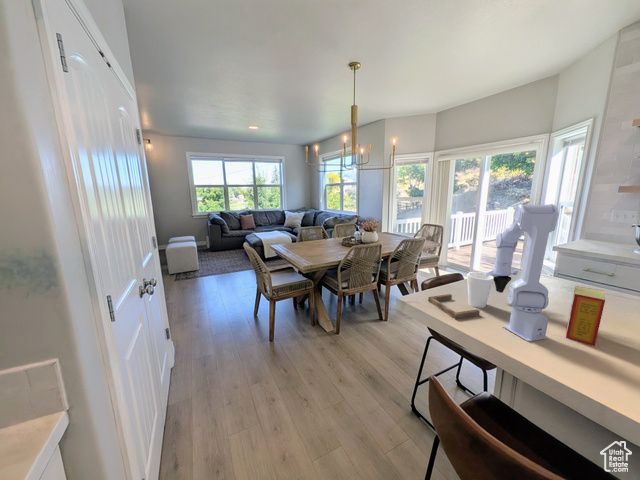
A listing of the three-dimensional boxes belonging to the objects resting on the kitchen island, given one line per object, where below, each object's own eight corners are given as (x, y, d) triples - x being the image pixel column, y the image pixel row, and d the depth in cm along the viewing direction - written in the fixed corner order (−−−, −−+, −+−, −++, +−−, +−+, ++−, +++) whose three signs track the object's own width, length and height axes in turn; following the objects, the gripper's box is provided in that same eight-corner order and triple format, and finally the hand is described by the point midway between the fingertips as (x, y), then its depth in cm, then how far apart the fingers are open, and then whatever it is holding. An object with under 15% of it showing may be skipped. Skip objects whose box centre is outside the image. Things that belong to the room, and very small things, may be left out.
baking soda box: (567, 326, 90) (575, 284, 87) (593, 333, 86) (603, 289, 82) (565, 337, 84) (575, 293, 80) (594, 346, 79) (605, 299, 76)
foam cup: (482, 299, 112) (486, 272, 110) (494, 309, 103) (498, 279, 101) (460, 299, 113) (463, 271, 111) (470, 308, 104) (473, 279, 102)
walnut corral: (479, 315, 99) (479, 310, 99) (455, 319, 97) (455, 314, 96) (449, 298, 114) (450, 294, 114) (428, 301, 112) (428, 296, 112)
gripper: (508, 257, 112) (504, 286, 115) (481, 260, 109) (478, 289, 112) (524, 262, 106) (519, 292, 108) (495, 265, 102) (491, 296, 105)
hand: (499, 291), depth 110 cm, fingers closed
